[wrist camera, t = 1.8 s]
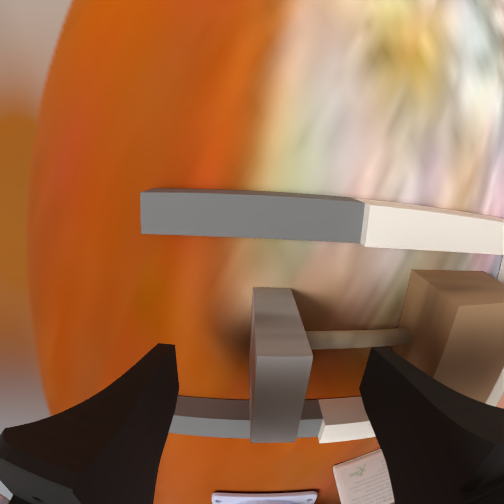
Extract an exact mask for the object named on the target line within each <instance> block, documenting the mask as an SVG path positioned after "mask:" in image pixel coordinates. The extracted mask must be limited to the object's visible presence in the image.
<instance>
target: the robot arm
mask: <svg viewBox="0 0 504 504" xmlns="http://www.w3.org/2000/svg"><path fill="white" fill-rule="evenodd" d="M359 389H360V393H361V397H362V401H363V405H364V409H365V411H366V414H367V416H368V419H369V421H370V424H371V426H372V428H373V431H374V433H375V436H376V438H377V440H378V443H379V445H380V448H381V450H382V452H383V455H384V458H385V461H386V465H387V469H388V473H389V477H390V481H391V486H392V491H393V496H394V502H395V504H504V409H502V408H498V407H495V406H491V405H488V404H485V403H483V402H480V401H477V400H474V399H472V398H470V397H467V396H465V395H463V394H461V393H459V392H457V391H455V390H453V389H451V388H449V387H447V386H445V385H444V384H442V383H440V382H439V381H437V380H435V379H434V378H432V377H431V376H429V375H427V374H426V373H424V372H423V371H421V370H420V369H418V368H417V367H416V366H414V365H413V364H411V363H410V362H408V361H407V360H405V359H404V358H403V357H401V356H400V355H398V354H397V353H395V352H394V351H392V350H390V349H389V348H387V347H374V348H371V351H370V355H369V358H368V362H367V365H366V369H365V372H364V375H363V378H362V382H361V385H360V388H359ZM178 391H179V382H178V373H177V363H176V352H175V345H171V344H160V343H158V344H157V345H156V346H155V347H154V348H153V349H151V350H150V351H149V352H148V353H147V354H146V355H145V356H144V357H143V358H142V359H141V360H140V361H138V362H137V363H136V364H135V365H134V366H133V367H132V368H130V369H129V370H128V371H127V372H126V373H125V374H123V375H122V376H121V377H120V378H118V379H117V380H116V381H114V382H113V383H112V384H111V385H109V386H108V387H106V388H105V389H104V390H102V391H101V392H99V393H97V394H96V395H94V396H93V397H91V398H89V399H87V400H86V401H84V402H82V403H80V404H78V405H76V406H74V407H72V408H70V409H68V410H65V411H63V412H61V413H59V414H56V415H53V416H51V417H48V418H45V419H42V420H39V421H36V422H32V423H28V424H24V425H19V426H15V427H10V428H5V429H4V430H3V432H2V433H1V435H0V480H1V482H2V483H3V484H4V485H5V486H6V487H7V488H8V489H9V490H10V492H11V493H12V494H13V497H12V498H11V500H10V501H9V500H8V499H7V498H6V497H4V496H3V495H1V494H0V504H153V500H154V493H155V485H156V479H157V473H158V467H159V463H160V459H161V455H162V452H163V448H164V445H165V442H166V439H167V435H168V432H169V429H170V426H171V423H172V419H173V416H174V413H175V409H176V403H177V397H178ZM316 498H317V492H315V491H307V492H293V493H270V494H243V493H219V492H217V493H213V494H212V504H314V502H315V500H316Z"/></svg>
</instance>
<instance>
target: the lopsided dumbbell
mask: <svg viewBox="0 0 504 504" xmlns="http://www.w3.org/2000/svg"><path fill="white" fill-rule="evenodd" d="M381 346H392V349H391V350H392V351H394V352H395V353H397V354H398V355H400V356H401V357H403V358H404V359H405V360H407V361H408V362H410V363H411V364H413V365H414V366H416V367H417V368H418V369H420V370H421V371H423V372H424V373H426V374H427V375H429V376H431V377H432V378H434V379H435V380H437V381H439V382H440V383H442V384H444V385H445V386H447V387H449V388H451V389H453V390H455V391H457V392H459V393H461V394H463V395H465V396H467V397H470V398H472V399H474V400H477V401H480V402H483V403H485V402H486V401H487V399H488V397H489V395H490V393H491V391H492V389H493V388H494V386H495V384H496V382H497V380H498V378H499V376H500V374H501V371H502V369H503V367H504V284H503V283H502V282H500V281H498V280H497V279H495V278H493V277H492V276H490V275H488V274H487V273H485V272H483V271H450V270H411V275H410V280H409V284H408V289H407V293H406V298H405V302H404V306H403V310H402V314H401V318H400V321H399V325H398V328H396V329H376V330H348V331H305V329H304V326H303V323H302V320H301V317H300V314H299V311H298V308H297V305H296V302H295V299H294V296H293V293H292V291H291V288H269V287H253V296H252V315H251V333H250V351H249V398H250V443H276V442H295V441H296V436H297V432H298V428H299V424H300V419H301V415H302V410H303V406H304V401H305V396H306V391H307V387H308V382H309V377H310V371H311V366H312V361H313V354H312V351H311V349H344V348H365V347H381Z"/></svg>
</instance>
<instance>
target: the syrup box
mask: <svg viewBox="0 0 504 504" xmlns="http://www.w3.org/2000/svg"><path fill="white" fill-rule="evenodd" d="M333 472H334V476H335V480H336V484H337V488H338V492H339V496H340V500H341V504H395V502H394V496H393V491H392V486H391V481H390V477H389V473H388V469H387V465H386V461H385V458H384V455H383V452H382V450H381V449H379V450H376V451H373V452H370V453H368V454H365V455H363V456H360V457H357V458H355V459H352V460H349V461H346V462H343V463H340V464H338V465H334V466H333Z"/></svg>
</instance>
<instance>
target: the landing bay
mask: <svg viewBox="0 0 504 504" xmlns="http://www.w3.org/2000/svg"><path fill="white" fill-rule="evenodd" d="M140 201H141V234H166V235H194V236H220V237H244V238H267V239H289V240H309V241H329V242H348V243H360V241H361V233H362V225H363V217H364V208H365V203H364V202H361V201H359V200H356V199H354V198H349V197H338V196H326V195H313V194H299V193H283V192H266V191H245V190H219V189H164V188H152V189H149V190H146V191H143V192H140ZM322 421H323V416H322V412H321V408H320V405H319V401H318V400H305V401H304V406H303V410H302V415H301V419H300V424H299V428H298V432H297V436H296V438H304V437H318V435H319V431H320V428H321V425H322ZM169 433H177V434H186V435H196V436H208V437H224V438H250V400H227V399H210V398H197V397H185V396H178V397H177V403H176V409H175V413H174V416H173V419H172V423H171V426H170V429H169Z"/></svg>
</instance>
